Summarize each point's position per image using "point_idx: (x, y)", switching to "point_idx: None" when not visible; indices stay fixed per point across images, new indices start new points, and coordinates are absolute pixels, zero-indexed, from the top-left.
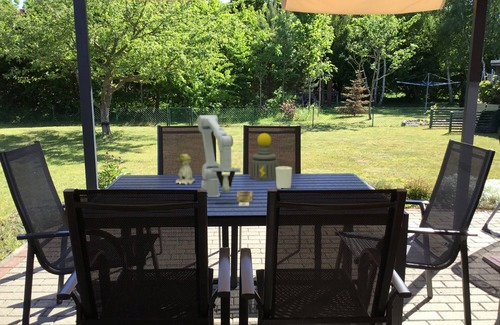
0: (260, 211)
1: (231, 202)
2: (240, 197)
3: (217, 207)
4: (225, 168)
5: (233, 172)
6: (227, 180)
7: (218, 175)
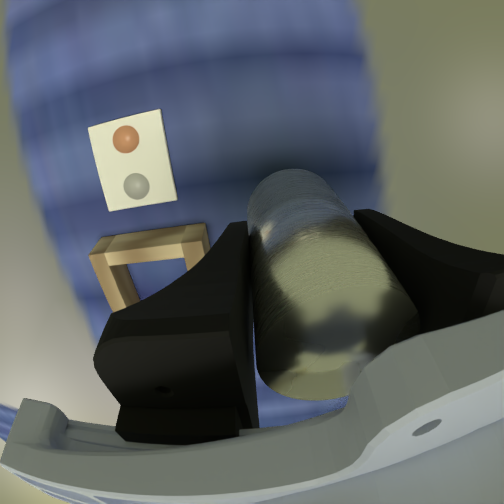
0: (11, 27)
1: (241, 205)
2: (169, 243)
3: (326, 49)
4: (451, 481)
5: (152, 414)
6: (289, 244)
7: (501, 261)
